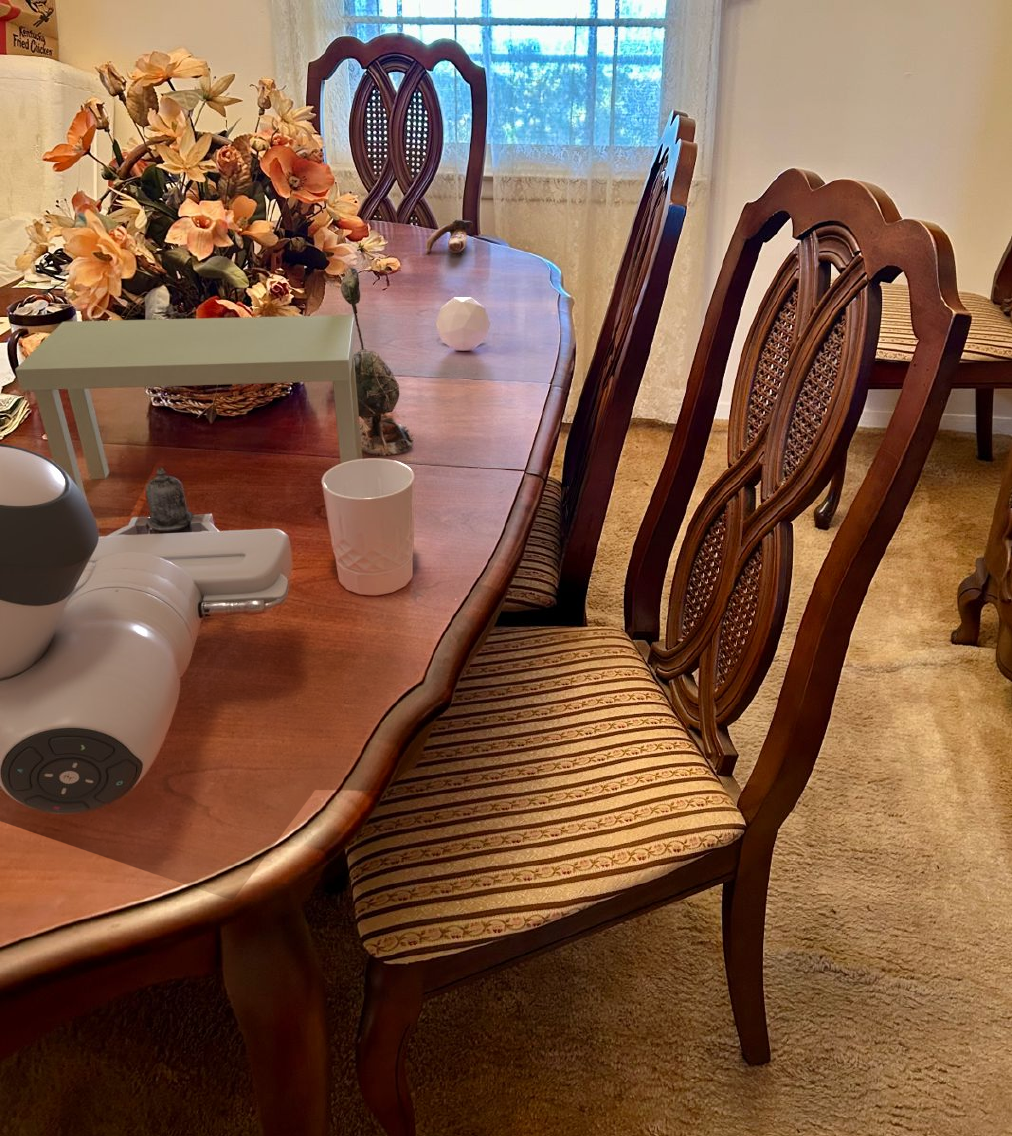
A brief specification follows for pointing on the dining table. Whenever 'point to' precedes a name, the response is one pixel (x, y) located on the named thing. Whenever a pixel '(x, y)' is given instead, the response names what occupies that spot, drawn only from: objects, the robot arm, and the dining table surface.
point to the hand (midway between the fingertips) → (174, 522)
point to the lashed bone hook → (452, 235)
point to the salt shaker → (167, 505)
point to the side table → (185, 369)
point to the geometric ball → (462, 323)
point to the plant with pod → (375, 391)
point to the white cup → (371, 523)
